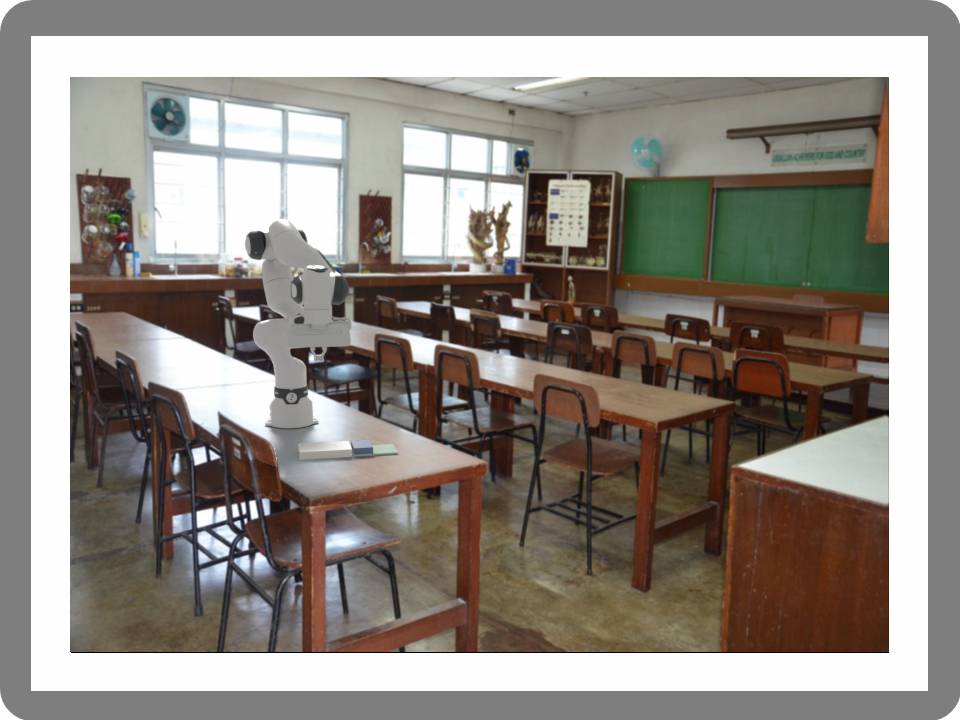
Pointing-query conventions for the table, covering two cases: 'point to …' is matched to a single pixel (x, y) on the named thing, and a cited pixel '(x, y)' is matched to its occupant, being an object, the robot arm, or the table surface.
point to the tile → (362, 447)
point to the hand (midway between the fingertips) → (318, 360)
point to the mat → (380, 450)
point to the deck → (324, 450)
